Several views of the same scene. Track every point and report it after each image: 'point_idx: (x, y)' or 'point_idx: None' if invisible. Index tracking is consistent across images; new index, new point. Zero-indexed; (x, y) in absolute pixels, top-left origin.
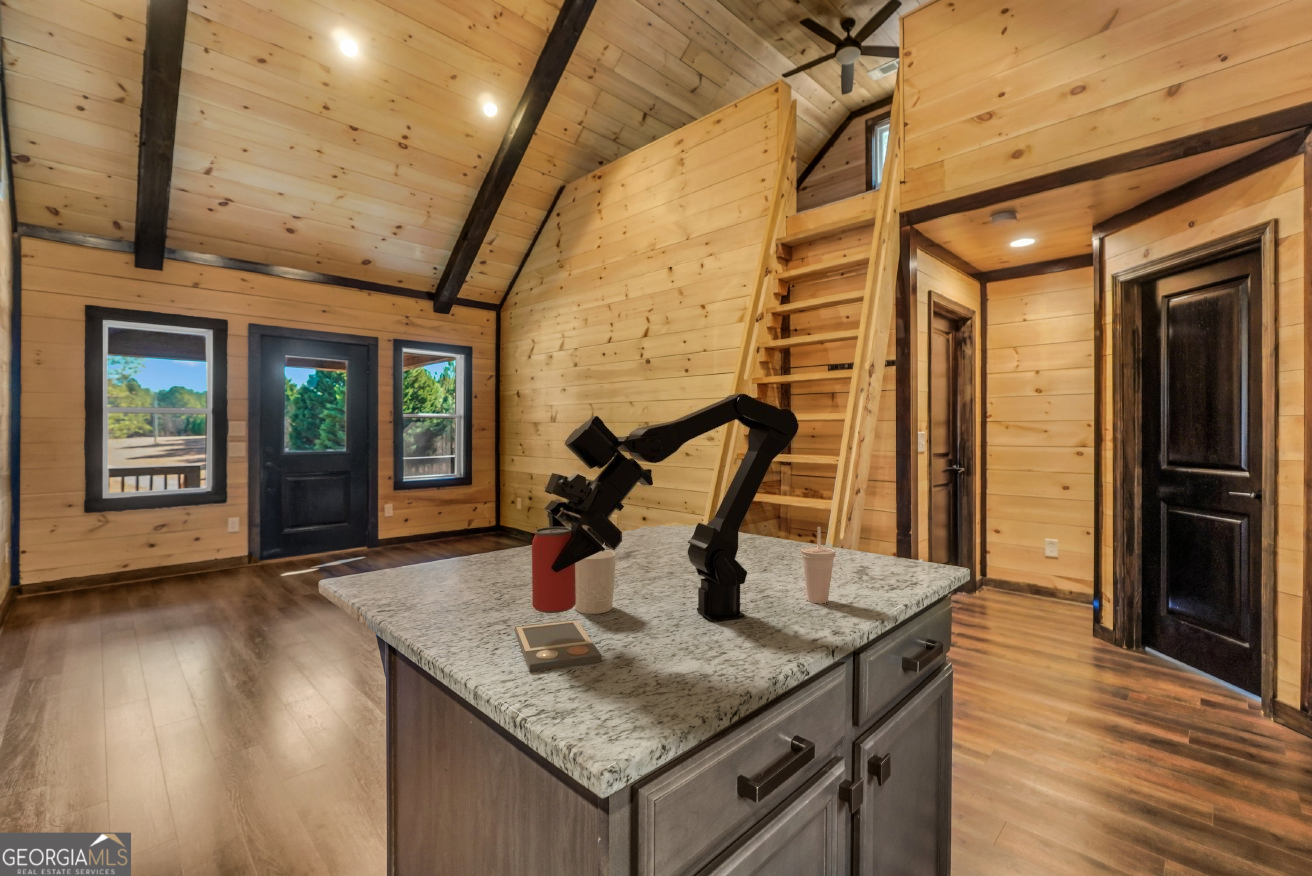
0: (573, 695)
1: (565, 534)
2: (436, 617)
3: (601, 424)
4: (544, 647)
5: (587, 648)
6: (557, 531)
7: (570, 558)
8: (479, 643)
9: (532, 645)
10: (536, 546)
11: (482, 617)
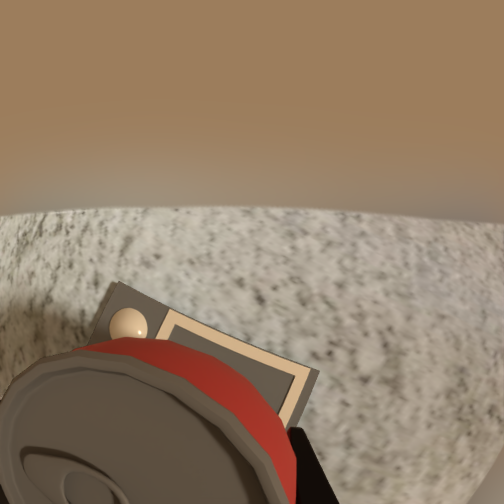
0: (34, 282)
1: (10, 475)
2: (466, 285)
3: None
4: None
5: None
6: (53, 488)
7: None
8: (308, 288)
9: (189, 339)
10: (131, 338)
11: (433, 353)
